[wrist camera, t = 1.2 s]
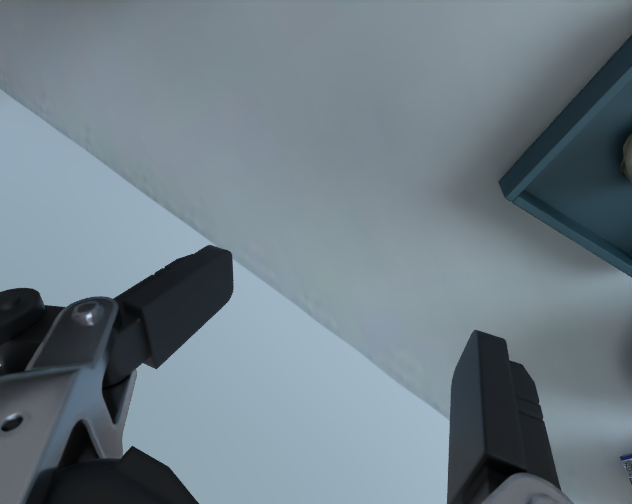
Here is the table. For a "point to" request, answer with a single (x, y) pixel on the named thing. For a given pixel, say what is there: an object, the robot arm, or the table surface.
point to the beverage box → (627, 465)
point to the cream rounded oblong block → (627, 159)
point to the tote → (584, 167)
